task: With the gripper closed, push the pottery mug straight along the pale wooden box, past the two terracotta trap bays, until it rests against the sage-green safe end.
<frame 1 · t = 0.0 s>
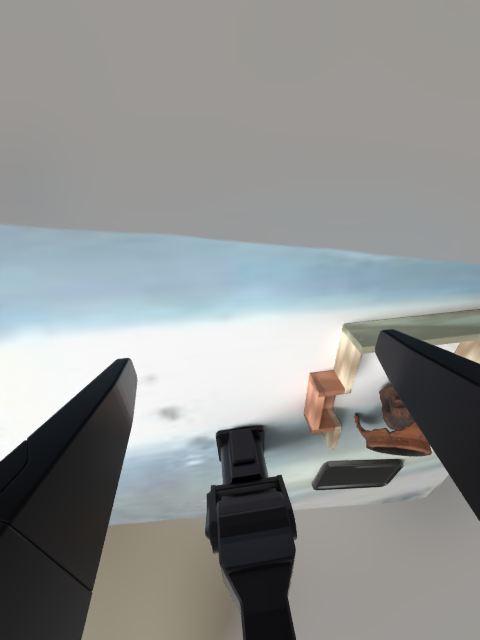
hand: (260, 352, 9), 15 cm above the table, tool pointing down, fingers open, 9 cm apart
phone: (354, 469, 47), on the table
pottery mug: (383, 397, 36), on the table
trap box: (392, 376, 34), on the table
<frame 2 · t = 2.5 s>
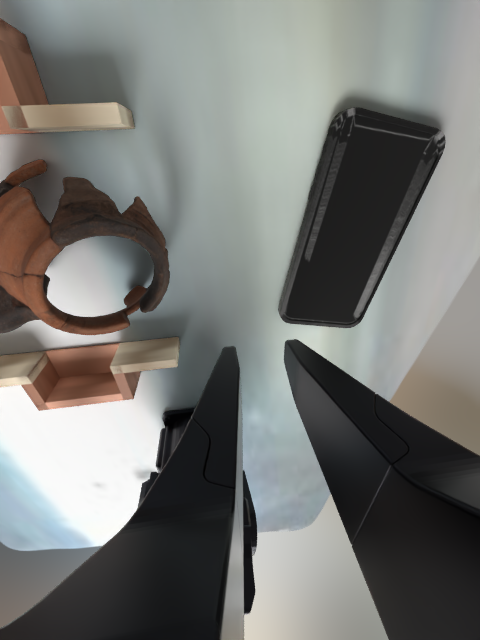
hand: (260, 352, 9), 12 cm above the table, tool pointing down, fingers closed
phone: (342, 237, 21), on the table
pottery mug: (84, 245, 18), on the table
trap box: (22, 265, 18), on the table
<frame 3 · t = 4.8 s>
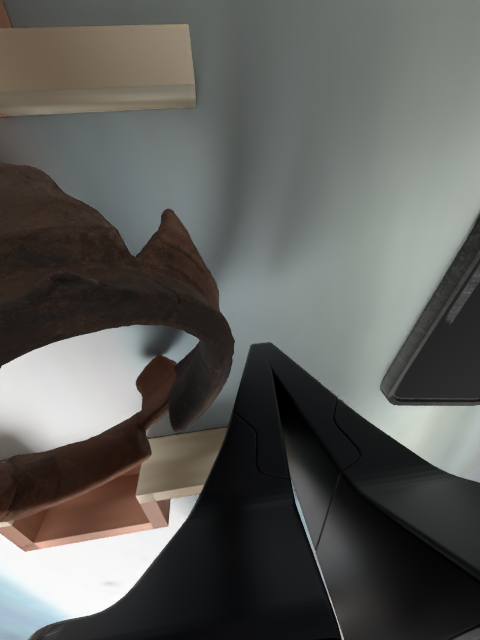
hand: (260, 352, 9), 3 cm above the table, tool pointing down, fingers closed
pottery mug: (63, 295, 10), on the table, touching gripper
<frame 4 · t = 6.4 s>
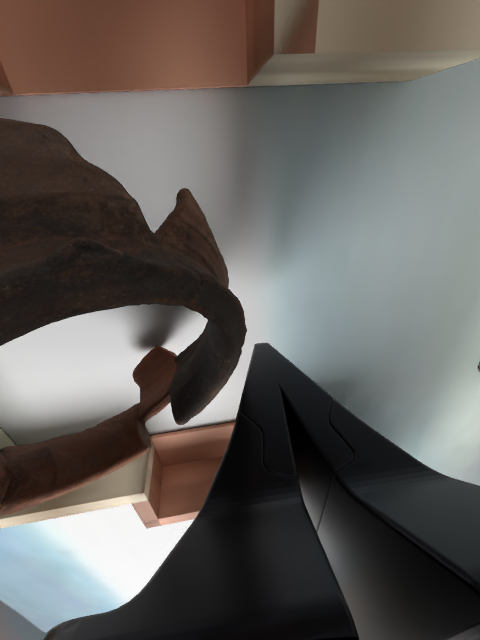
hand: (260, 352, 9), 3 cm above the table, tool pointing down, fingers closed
pottery mug: (59, 279, 10), on the table, touching gripper, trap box
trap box: (147, 324, 11), on the table
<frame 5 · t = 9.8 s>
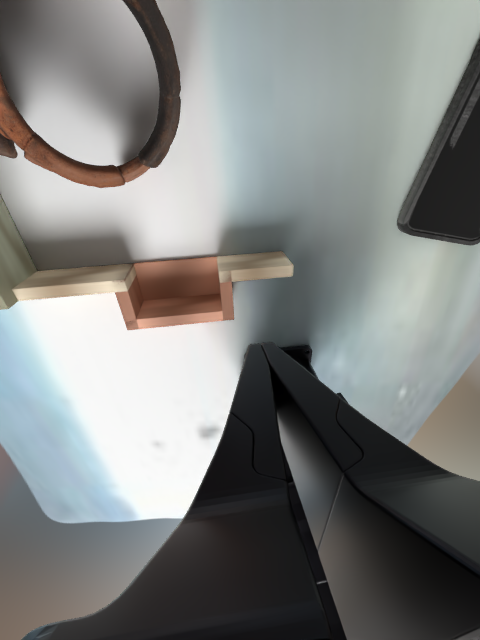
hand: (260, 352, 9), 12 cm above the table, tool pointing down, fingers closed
pottery mug: (67, 90, 14), on the table
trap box: (127, 139, 15), on the table
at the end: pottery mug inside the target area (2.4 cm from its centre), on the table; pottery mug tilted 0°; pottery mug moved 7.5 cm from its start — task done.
